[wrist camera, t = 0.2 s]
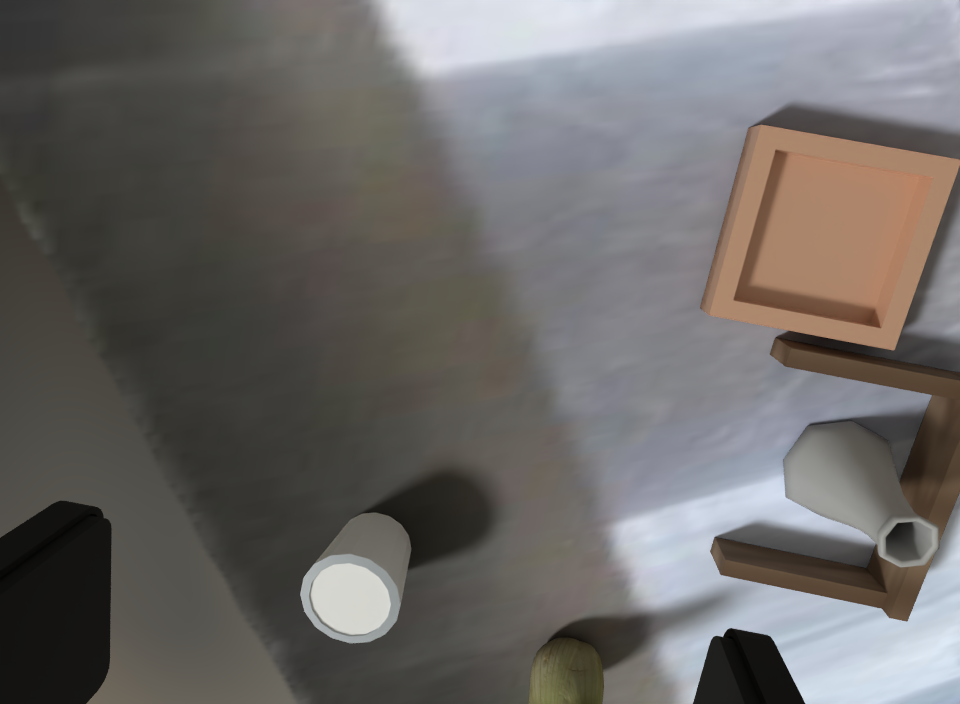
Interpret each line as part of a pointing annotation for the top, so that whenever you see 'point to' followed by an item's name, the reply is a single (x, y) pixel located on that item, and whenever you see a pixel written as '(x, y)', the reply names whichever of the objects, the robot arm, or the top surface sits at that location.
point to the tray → (826, 235)
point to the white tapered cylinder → (359, 580)
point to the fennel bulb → (566, 674)
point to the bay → (925, 482)
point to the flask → (858, 489)
